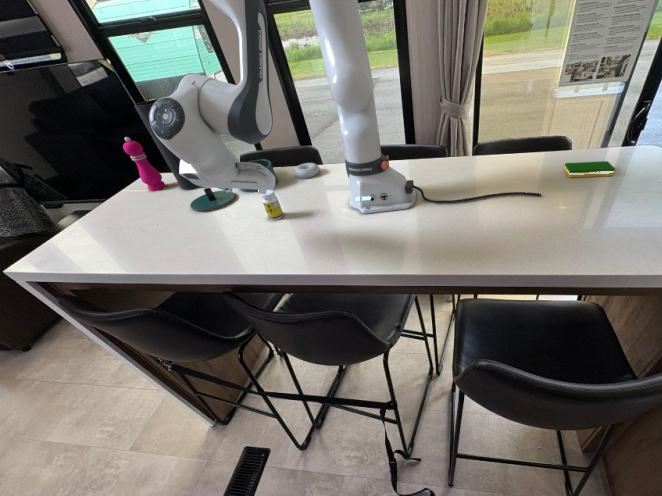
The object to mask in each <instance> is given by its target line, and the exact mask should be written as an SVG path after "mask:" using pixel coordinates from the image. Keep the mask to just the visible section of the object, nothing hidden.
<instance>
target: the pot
mask: <svg viewBox="0 0 662 496" xmlns="http://www.w3.org/2000/svg"><path fill="white" fill-rule="evenodd" d="M248 162H250V163H258V164H261V165H263V166H264V167H266V168H267V169H268V170H269V171H270V172H271V173H272V174H273V175H274V176H275V185H276V184H277V182H278V178H277V175H276V172H275V169H274V167H273V164H272V162H271V161H270V160H269V159H267V158H260V159H255V160H248ZM240 191H242V192H245V193H256V192H258V189H240Z"/></svg>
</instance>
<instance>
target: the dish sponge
mask: <svg viewBox="0 0 662 496" xmlns="http://www.w3.org/2000/svg"><path fill="white" fill-rule="evenodd" d="M564 166H565V167H566V169H567V170H568V171H569V173H589V172H597V171H599V172H600V171H614V173H615V171H616V167H614V166H613V165H612V164H611V162H609V161H607V160H605V161H604V160H603V161H583V162H565V163H564ZM566 169H565V168H564V167H563V171H564V173H565V174H566V175H567V177H568V178H591V177H594V178H595V177H613V176H614V173H609V174H584V175H569V174H568V172H567V171H566Z"/></svg>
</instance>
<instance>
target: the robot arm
mask: <svg viewBox="0 0 662 496" xmlns="http://www.w3.org/2000/svg"><path fill="white" fill-rule="evenodd" d="M208 1H209V2H210V3H211V5H213V6H214V7H216V8H217V9H218V10H219V11H221V12H222V13H223V14H225V15H226V16H227V17H228V18H229V19H231V21H232V22H233V24H234V26H235V27H236V31H237V35H238V49H239V50H238V51H239V71H240V79H239V82H238V83H237V84H233V83H230V82H226V81H223V80H218V79H217V78H213V77H211V76H207V75H203V74H199V73H195V72H189V73H186V74H184V75H183V76H182V77H181V78H180V79H179V80H178V82H177V83H176V85H175V87H174V90H173V92H172V94H170V95H168V96H163V97H159V98H157V99H158V100H157V101H156V102H155V103H154V104H153V105H152V107H151V109H150V112H149V122H150V125H151V128H152V130H153V132H154V133H155V135H156V136H157V138H158V139H159V140H160V141H161V142H162V143H163V144H164V145H165V146H166V147H167V148H168V149H169V150H170V151H171V152H172V153H174V154H175V155H176V156H177V157H178V158H180V167H179V174H180V175H181V176H182V177H184V178H187V179H188V180H189V181H191V182H192V183H194V184H195V185H198V186H201V187H200V188H216V189H218V190H221V191H225V192H233V189H237V190H238V189H240V190H241V189H258V191H257V192H258V193H259V194H260V195H261V194H266V192H267V190H273V191H274V189H275V187H276V184H275V176H274V175H273V174H272V173H271V172H270V171H269V170H268V169H267V168H266V167H264V166H263V165H261V164H258V163H250V162H249V161H240V160H239V158H238V156H237V155H236V154H235V153H234V152H233V151H232V150H231V148H229V146H227V144H226V143H225V142H224V141H223V140H222V137H221V136H222V135H225V136H227V137H228V136H229V137H232V138H234V139H236V140H239V141H241V142H243V143H246V144H248V145H256V144H259V143H261V142H263V141H264V140H265V139H266V138H268V136H269V135H270V134H271V132H272V130H273V125H274V124H273V122H274V121H273V120H274V118H273V109H272V108H273V107H272V103H271V96H270V67H269V66H270V59H269V58H270V57H269V56H270V55H269V53H270V52H269V29H268V28H269V27H268V16H267V9H266V6H265V2H264V0H208ZM308 1H309V7H310V9H311V13H312V17H313V20H314V24H315V29H316V32H317V37H318V42H319V46H320V51H321V55H322V60H323V64H324V69H325V74H326V77H327V82H328V85H329V90H330V94H331V96H332V98H333V100H334V101H335V103H336V109H337V116H338V123H339V129H340V131H339V132H340V136H341V141H342V145H343V146H342V147H343V151H344V155H345V156H344V157H345V159H344V163H345V164H344V165H345V171H346V174H347V178H348V181H349V205H350V206H351V207H352V208H353V209H356V210H358V211H360V212H361V213H362V214H373V213H381V212H390V211H398V210H399V211H400V210H408V209H410V208H411V207H413V205H414V204H415V203H416V199H417V193H416V190H417V191H419V192H420V195H421V198H422V199H423V200H424V201H426V202H430V203H434V204H457V203H463V202H469V201H471V202H472V201H476V200H477V201H478V200H482V199H486V198H487V199H488V198H494V197H501V196H517V195H518V196H535V197H541V196H542V193H540V194H539V192H528V191H527V193H526V191H508V192H507V191H506V192H500V193H491V194H485V195H478V196H474V197H473V196H472V197H466V198H461V199H449V200H448V199H447V200H446V199H445V200H444V199H442V200H433V199H429V198H427V197H425V194H424V193H425V192H424V191H423V189H422V188H420V187H418V186H416V185H415V183H414V179H407V177H406V176H405V175H404V174H402V173H401V172H399V171H397V170H396V169H394V168H393V167H391V166H390V161H389V154H387V155H384V154H383V153H382V149H381V139H380V131H379V123H378V117H377V109H376V101H375V93H374V81H373V80H374V79H373V76H372V70H371V65H370V64H371V63H370V59H369V53H368V49H367V43H366V39H365V33H364V27H363V23H362V17H361V12H360V7H359V1H358V0H308Z"/></svg>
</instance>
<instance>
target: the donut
mask: <svg viewBox="0 0 662 496" xmlns="http://www.w3.org/2000/svg"><path fill="white" fill-rule="evenodd" d="M293 171H294V174H295V176H296V177H297V178H300V179H308V178H312V177H315V176H317V175H318V174H319V172H320V167H319V165H318V164H317V163H315V162H305V163H301V164H299V165H296V166H295V168H294V170H293Z"/></svg>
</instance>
